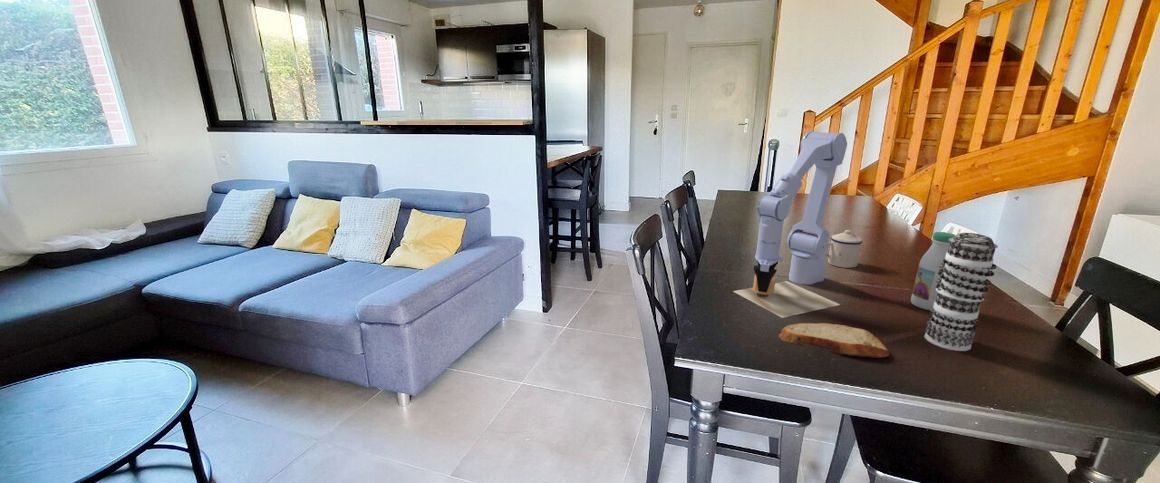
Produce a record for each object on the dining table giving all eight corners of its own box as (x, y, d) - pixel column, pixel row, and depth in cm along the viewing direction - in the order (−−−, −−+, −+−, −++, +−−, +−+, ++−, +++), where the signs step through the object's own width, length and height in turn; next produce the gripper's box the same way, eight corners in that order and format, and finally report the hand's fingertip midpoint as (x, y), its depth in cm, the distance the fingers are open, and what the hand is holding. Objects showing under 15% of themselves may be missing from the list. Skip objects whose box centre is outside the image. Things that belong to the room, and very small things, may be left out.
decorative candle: (977, 356, 98) (1009, 244, 91) (923, 344, 102) (950, 237, 95) (970, 338, 105) (999, 233, 98) (920, 328, 110) (945, 227, 103)
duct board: (786, 284, 137) (788, 270, 135) (839, 308, 121) (842, 292, 119) (732, 294, 129) (734, 279, 128) (781, 321, 113) (784, 304, 112)
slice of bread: (771, 335, 107) (773, 320, 106) (825, 321, 114) (828, 307, 113) (840, 375, 92) (843, 358, 91) (898, 356, 99) (902, 340, 98)
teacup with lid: (850, 260, 157) (856, 227, 154) (862, 269, 149) (869, 234, 145) (813, 258, 159) (818, 226, 155) (824, 267, 150) (829, 233, 147)
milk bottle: (941, 302, 124) (959, 231, 118) (949, 314, 117) (968, 239, 111) (907, 298, 127) (923, 228, 121) (913, 308, 120) (930, 235, 114)
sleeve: (753, 285, 130) (755, 272, 129) (774, 288, 128) (776, 275, 126) (751, 292, 125) (753, 278, 124) (773, 295, 123) (774, 281, 122)
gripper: (784, 250, 114) (777, 300, 118) (786, 235, 127) (780, 281, 131) (754, 246, 117) (748, 295, 121) (759, 232, 130) (754, 277, 134)
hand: (763, 287), depth 126 cm, fingers closed on sleeve, 5 cm apart
